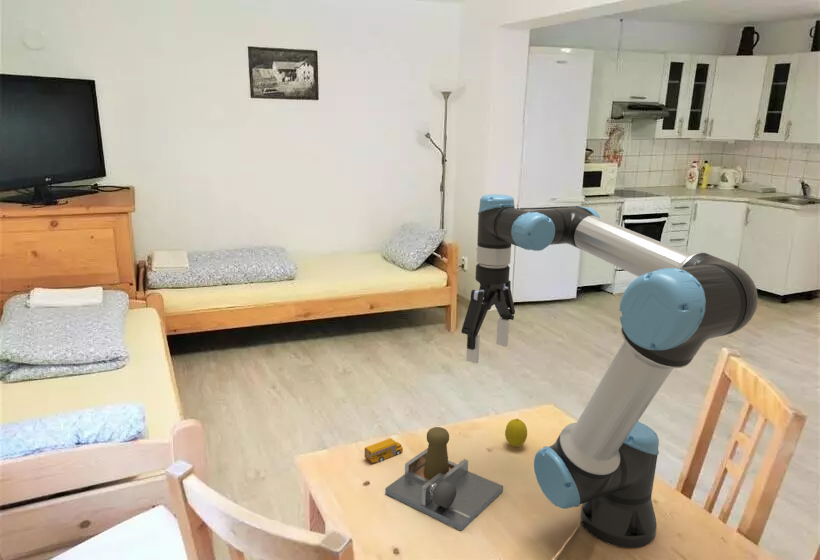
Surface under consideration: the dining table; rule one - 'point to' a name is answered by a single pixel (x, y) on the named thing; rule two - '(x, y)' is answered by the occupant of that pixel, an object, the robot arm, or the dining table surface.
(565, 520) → the dining table surface
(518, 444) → the lemon
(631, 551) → the dining table surface
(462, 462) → the plate
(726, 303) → the robot arm
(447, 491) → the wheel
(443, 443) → the olive brown pawn
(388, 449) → the toy bus
